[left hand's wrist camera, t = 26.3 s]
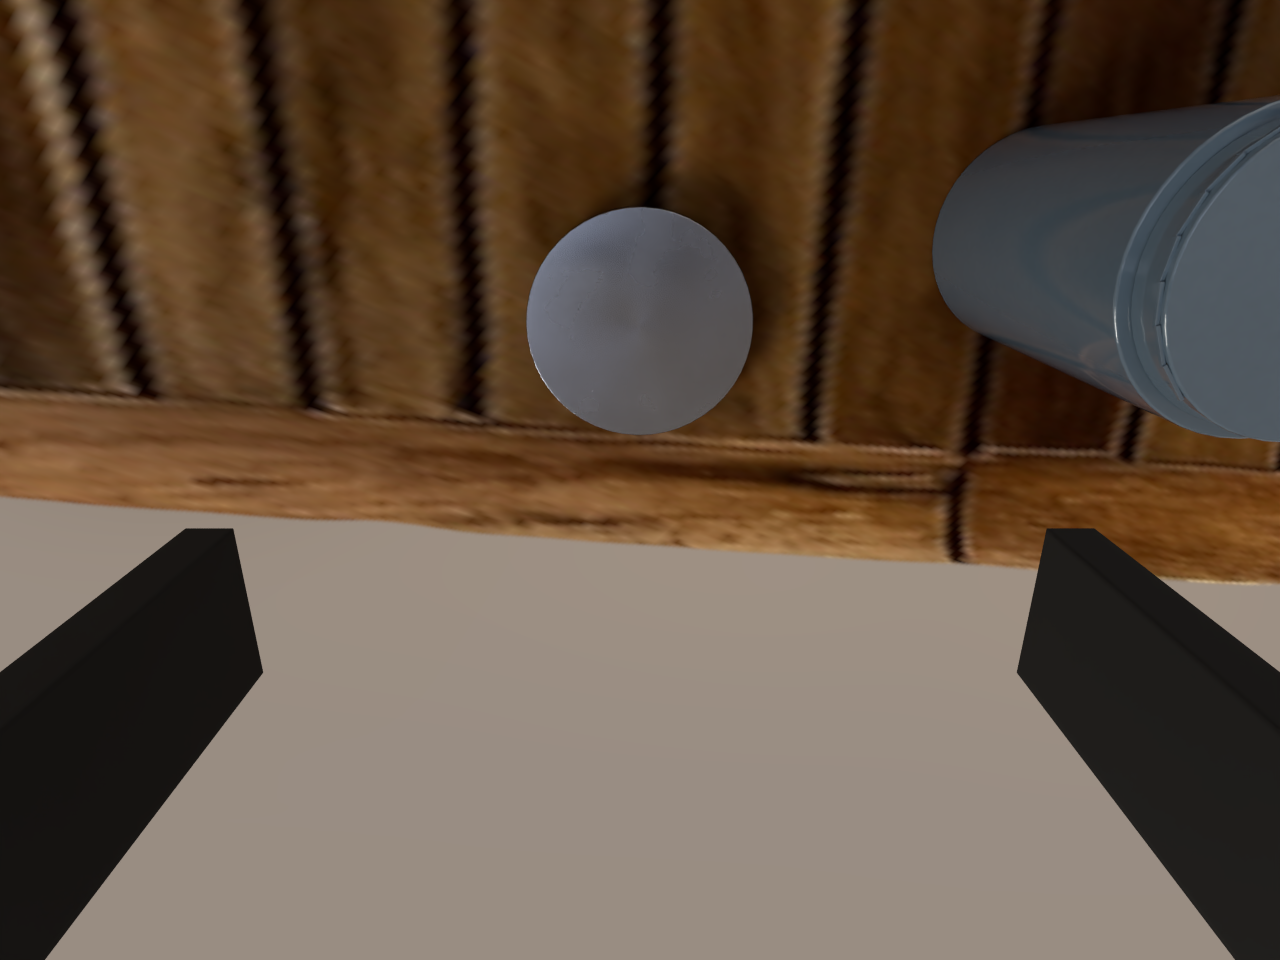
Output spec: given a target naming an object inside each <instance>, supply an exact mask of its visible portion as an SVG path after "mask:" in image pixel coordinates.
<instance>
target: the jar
mask: <svg viewBox="0 0 1280 960" xmlns="http://www.w3.org/2000/svg"><path fill="white" fill-rule="evenodd" d="M932 255H933V268H934V273H935V278H936V282H937V285H938V288H939V291H940V293H941V295H942V297H943V299H944V301H945V303H946V304H947V305H948V307H949V308H950V310H951V311H952V312H953V314H954V315H955V316H956V317H957V318H958V319H959V320H960V321H961V322H963V323H964V324H965V325H967V326H968V327H969V328H970V329H972V330H974V331H976V332H978V333H979V334H981V335H983V336H985V337H988V338H990V339H992V340H994V341H996V342H998V343H1001V344H1003V345H1005V346H1007V347H1009V348H1011V349H1014V350H1016V351H1018V352H1020V353H1022V354H1024V355H1027V356H1029V357H1031V358H1033V359H1035V360H1037V361H1040V362H1042V363H1044V364H1046V365H1048V366H1050V367H1052V368H1055V369H1057V370H1059V371H1061V372H1063V373H1065V374H1068V375H1070V376H1072V377H1074V378H1076V379H1078V380H1081V381H1083V382H1085V383H1087V384H1089V385H1091V386H1094V387H1096V388H1098V389H1100V390H1102V391H1104V392H1107V393H1109V394H1111V395H1113V396H1115V397H1117V398H1119V399H1122V400H1124V401H1126V402H1128V403H1130V404H1132V405H1135V406H1137V407H1139V408H1141V409H1143V410H1145V411H1148V412H1150V413H1152V414H1154V415H1156V416H1158V417H1161V418H1163V419H1165V420H1167V421H1169V422H1171V423H1174V424H1176V425H1178V426H1180V427H1183V428H1185V429H1188V430H1191V431H1194V432H1196V433H1200V434H1204V435H1209V436H1214V437H1221V438H1236V439H1240V438H1251V439H1256V440H1261V441H1271V442H1280V95H1276V96H1268V97H1260V98H1252V99H1245V100H1237V101H1229V102H1221V103H1213V104H1205V105H1198V106H1190V107H1182V108H1174V109H1166V110H1158V111H1151V112H1143V113H1135V114H1127V115H1119V116H1111V117H1104V118H1096V119H1088V120H1080V121H1072V122H1064V123H1057V124H1049V125H1042V126H1037V127H1032V128H1028V129H1025V130H1022V131H1020V132H1017V133H1014V134H1012V135H1010V136H1008V137H1006V138H1004V139H1002V140H1000V141H999V142H997V143H996V144H994V145H993V146H991V147H989V148H988V149H987V150H986V151H984V152H983V153H982V154H981V155H979V156H978V157H977V158H976V159H975V160H974V161H973V162H972V163H971V164H970V165H969V166H968V167H967V168H966V169H965V170H964V172H963V173H962V174H961V176H960V177H959V178H958V179H957V181H956V182H955V184H954V185H953V187H952V189H951V190H950V192H949V194H948V195H947V197H946V199H945V202H944V204H943V206H942V208H941V211H940V214H939V217H938V220H937V223H936V228H935V233H934V238H933V250H932Z"/></svg>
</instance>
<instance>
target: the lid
mask: <svg viewBox="0 0 1280 960" xmlns="http://www.w3.org/2000/svg"><path fill="white" fill-rule="evenodd" d="M526 326H527V338H528V342H529V347H530V352H531V355H532V358H533V360H534V363H535V366H536V368H537V370H538V372H539V374H540V376H541V378H542V380H543V381H544V383H545V384H546V386H547V387H548V388H549V390H550V391H551V392H552V394H553V395H554V396H555V397H556V398H557V399H558V400H559V402H561V403H562V404H563V405H564V406H565V407H566V408H567V409H569V410H570V411H571V412H572V413H574V414H575V415H577V416H578V417H580V418H581V419H583V420H585V421H587V422H589V423H591V424H593V425H595V426H597V427H600V428H603V429H606V430H608V431H613V432H617V433H622V434H632V435H648V434H656V433H663V432H667V431H670V430H674V429H677V428H680V427H682V426H684V425H687V424H689V423H691V422H693V421H695V420H696V419H698V418H700V417H701V416H703V415H704V414H706V413H707V412H708V411H710V410H711V409H712V408H713V407H715V406H716V405H717V404H718V403H719V402H720V401H721V400H722V399H723V398H724V397H725V395H726V394H727V393H728V392H729V390H730V389H731V388H732V386H733V385H734V383H735V382H736V380H737V378H738V377H739V375H740V373H741V371H742V369H743V366H744V364H745V362H746V359H747V356H748V352H749V349H750V345H751V339H752V332H753V311H752V302H751V297H750V293H749V289H748V286H747V283H746V281H745V278H744V275H743V273H742V271H741V269H740V267H739V266H738V264H737V262H736V260H735V258H734V257H733V256H732V254H731V253H730V252H729V250H728V249H727V248H726V246H725V245H724V244H723V243H722V242H721V241H720V240H719V239H718V238H717V237H716V236H715V235H713V234H712V233H711V232H710V231H708V230H707V229H706V228H704V227H703V226H702V225H701V224H699V223H697V222H696V221H694V220H692V219H690V218H689V217H687V216H684V215H682V214H679V213H677V212H674V211H671V210H667V209H663V208H659V207H651V206H627V207H621V208H615V209H612V210H609V211H605V212H602V213H599V214H597V215H595V216H593V217H591V218H589V219H587V220H585V221H584V222H582V223H581V224H579V225H578V226H576V227H575V228H573V229H572V230H571V231H570V232H568V233H567V234H566V235H565V236H564V237H563V238H562V239H561V240H559V241H558V243H557V244H556V245H555V246H554V247H553V248H552V250H551V251H550V252H549V253H548V255H547V256H546V258H545V259H544V261H543V263H542V264H541V266H540V268H539V270H538V272H537V274H536V276H535V278H534V281H533V284H532V288H531V291H530V294H529V300H528V305H527V318H526Z"/></svg>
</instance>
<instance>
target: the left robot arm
mask: <svg viewBox="0 0 1280 960" xmlns="http://www.w3.org/2000/svg"><path fill="white" fill-rule="evenodd" d="M262 673H263V669H262V665H261V660H260V655H259V650H258V645H257V641H256V636H255V631H254V626H253V622H252V617H251V612H250V607H249V602H248V597H247V593H246V588H245V583H244V578H243V573H242V569H241V564H240V559H239V554H238V549H237V545H236V540H235V535H234V530H233V529H184V530H183V531H182V532H181V533H179V534H178V535H177V536H176V537H174V538H173V539H172V540H170V541H169V542H168V543H166V544H165V545H164V546H163V547H161V548H160V549H159V550H157V551H156V552H155V553H154V554H152V555H151V556H150V557H148V558H147V559H146V560H144V561H143V562H142V563H141V564H139V565H138V566H137V567H135V568H134V569H133V570H132V571H130V572H129V573H128V574H126V575H125V576H124V577H122V578H121V579H120V580H119V581H117V582H116V583H115V584H113V585H112V586H111V587H110V588H108V589H107V590H106V591H104V592H103V593H102V594H101V595H99V596H98V597H97V598H95V599H94V600H93V601H92V602H90V603H89V604H88V605H86V606H85V607H84V608H83V609H81V610H80V611H79V612H77V613H76V614H75V615H74V616H72V617H71V618H70V619H68V620H67V621H66V622H64V623H63V624H62V625H61V626H59V627H58V628H57V629H55V630H54V631H53V632H52V633H50V634H49V635H48V636H46V637H45V638H44V639H43V640H41V641H40V642H39V643H37V644H36V645H35V646H33V647H32V648H31V649H30V650H28V651H27V652H26V653H24V654H23V655H22V656H21V657H19V658H18V659H17V660H15V661H14V662H13V663H11V664H10V665H9V666H8V667H6V668H5V669H4V670H2V671H1V672H0V960H45V959H46V958H47V956H48V955H49V954H50V952H51V951H52V950H53V948H54V947H55V946H56V944H57V943H58V942H59V940H60V939H61V938H62V937H63V935H64V934H65V933H66V931H67V930H68V929H69V927H70V926H71V925H72V923H73V922H74V921H75V919H76V918H77V917H78V915H79V914H80V913H81V912H82V910H83V909H84V908H85V906H86V905H87V904H88V902H89V901H90V900H91V898H92V897H93V896H94V894H95V893H96V892H97V890H98V889H99V888H100V887H101V885H102V884H103V883H104V881H105V880H106V879H107V877H108V876H109V875H110V873H111V872H112V871H113V869H114V868H115V867H116V865H117V864H118V863H119V862H120V860H121V859H122V858H123V856H124V855H125V854H126V852H127V851H128V850H129V848H130V847H131V846H132V844H133V843H134V842H135V840H136V839H137V838H138V836H139V835H140V834H141V833H142V831H143V830H144V829H145V827H146V826H147V825H148V823H149V822H150V821H151V819H152V818H153V817H154V815H155V814H156V813H157V812H158V810H159V809H160V808H161V806H162V805H163V804H164V802H165V801H166V800H167V798H168V797H169V796H170V794H171V793H172V792H173V790H174V789H175V788H176V787H177V785H178V784H179V783H180V781H181V780H182V779H183V777H184V776H185V775H186V773H187V772H188V771H189V769H190V768H191V767H192V765H193V764H194V763H195V762H196V760H197V759H198V758H199V756H200V755H201V754H202V752H203V751H204V750H205V748H206V747H207V746H208V744H209V743H210V742H211V740H212V739H213V738H214V737H215V735H216V734H217V733H218V731H219V730H220V729H221V727H222V726H223V725H224V723H225V722H226V721H227V719H228V718H229V717H230V715H231V714H232V713H233V712H234V710H235V709H236V707H237V706H238V705H239V704H240V702H241V701H242V700H243V698H244V697H245V696H246V694H247V693H248V692H249V690H250V689H251V688H252V686H253V685H254V684H255V682H256V681H257V680H258V679H259V677H260V676H261V675H262ZM1017 673H1018V675H1019V676H1020V677H1021V679H1022V680H1023V681H1024V683H1025V684H1026V685H1027V686H1028V688H1029V689H1030V690H1031V692H1032V693H1033V694H1034V696H1035V697H1036V698H1037V700H1038V701H1039V702H1040V704H1041V705H1042V706H1043V708H1044V709H1045V710H1046V712H1047V713H1048V714H1049V715H1050V717H1051V718H1052V719H1053V721H1054V722H1055V723H1056V725H1057V726H1058V727H1059V729H1060V730H1061V731H1062V732H1063V734H1064V735H1065V737H1066V738H1067V739H1068V740H1069V742H1070V743H1071V744H1072V746H1073V747H1074V748H1075V750H1076V751H1077V752H1078V754H1079V755H1080V756H1081V758H1082V759H1083V760H1084V761H1085V763H1086V764H1087V765H1088V767H1089V768H1090V769H1091V771H1092V772H1093V773H1094V775H1095V776H1096V777H1097V779H1098V780H1099V781H1100V783H1101V784H1102V785H1103V786H1104V788H1105V789H1106V790H1107V792H1108V793H1109V794H1110V796H1111V797H1112V798H1113V800H1114V801H1115V802H1116V804H1117V805H1118V806H1119V808H1120V809H1121V810H1122V812H1123V813H1124V814H1125V815H1126V817H1127V818H1128V819H1129V821H1130V822H1131V823H1132V825H1133V826H1134V827H1135V829H1136V830H1137V831H1138V833H1139V834H1140V835H1141V836H1142V838H1143V839H1144V840H1145V842H1146V843H1147V844H1148V846H1149V847H1150V848H1151V850H1152V851H1153V852H1154V854H1155V855H1156V856H1157V857H1158V859H1159V860H1160V861H1161V863H1162V864H1163V865H1164V867H1165V868H1166V869H1167V871H1168V872H1169V873H1170V875H1171V876H1172V877H1173V879H1174V880H1175V881H1176V883H1177V884H1178V885H1179V886H1180V888H1181V889H1182V890H1183V892H1184V893H1185V894H1186V896H1187V897H1188V898H1189V900H1190V901H1191V902H1192V904H1193V905H1194V906H1195V908H1196V909H1197V910H1198V912H1199V913H1200V914H1201V915H1202V917H1203V918H1204V919H1205V921H1206V922H1207V923H1208V925H1209V926H1210V927H1211V929H1212V930H1213V931H1214V933H1215V934H1216V935H1217V936H1218V938H1219V939H1220V940H1221V942H1222V943H1223V944H1224V946H1225V947H1226V948H1227V950H1228V951H1229V952H1230V953H1231V955H1232V956H1233V958H1234V959H1235V960H1280V672H1279V671H1278V670H1276V669H1275V668H1274V667H1272V666H1271V665H1270V664H1269V663H1267V662H1266V661H1265V660H1263V659H1262V658H1261V657H1260V656H1258V655H1257V654H1256V653H1254V652H1253V651H1252V650H1250V649H1249V648H1248V647H1246V646H1245V645H1244V644H1243V643H1241V642H1240V641H1239V640H1238V639H1236V638H1235V637H1234V636H1232V635H1231V634H1230V633H1229V632H1227V631H1226V630H1225V629H1223V628H1222V627H1221V626H1219V625H1218V624H1217V623H1216V622H1214V621H1213V620H1212V619H1210V618H1209V617H1208V616H1207V615H1205V614H1204V613H1203V612H1201V611H1200V610H1199V609H1198V608H1196V607H1195V606H1194V605H1192V604H1191V603H1190V602H1189V601H1187V600H1186V599H1185V598H1183V597H1182V596H1181V595H1179V594H1178V593H1177V592H1176V591H1174V590H1173V589H1172V588H1170V587H1169V586H1168V585H1167V584H1165V583H1164V582H1163V581H1161V580H1160V579H1159V578H1158V577H1156V576H1155V575H1154V574H1152V573H1151V572H1150V571H1148V570H1147V569H1146V568H1145V567H1143V566H1142V565H1141V564H1139V563H1138V562H1137V561H1136V560H1134V559H1133V558H1132V557H1130V556H1129V555H1128V554H1127V553H1125V552H1124V551H1123V550H1121V549H1120V548H1119V547H1117V546H1116V545H1115V544H1114V543H1112V542H1111V541H1110V540H1108V539H1107V538H1106V537H1105V536H1103V535H1102V534H1101V533H1099V532H1098V531H1097V530H1096V529H1047V530H1046V535H1045V540H1044V545H1043V549H1042V554H1041V559H1040V564H1039V569H1038V573H1037V578H1036V583H1035V588H1034V593H1033V597H1032V602H1031V607H1030V612H1029V617H1028V621H1027V626H1026V631H1025V636H1024V641H1023V645H1022V650H1021V655H1020V660H1019V665H1018V670H1017Z"/></svg>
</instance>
